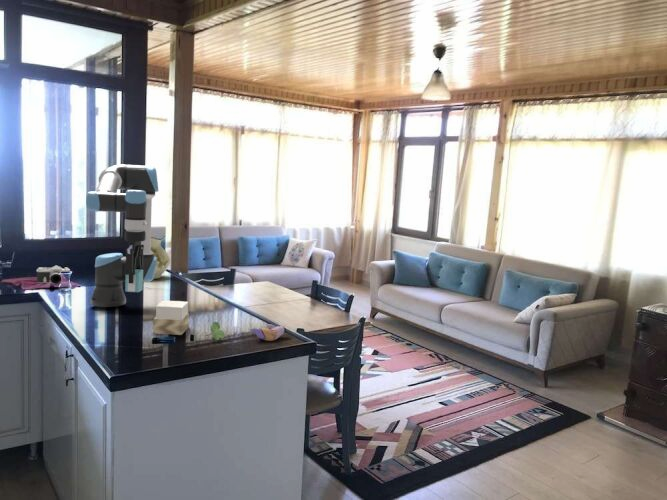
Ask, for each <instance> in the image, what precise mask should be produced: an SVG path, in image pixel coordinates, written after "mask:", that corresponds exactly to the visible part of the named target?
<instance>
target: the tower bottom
mask: <svg viewBox="0 0 667 500" xmlns="http://www.w3.org/2000/svg"><path fill="white" fill-rule="evenodd" d="M152 319H153V320H152V334H158V335H175V336H176V335H177V336H182V335H183V334H184V333H185V332H186V331H187V330H188V329H189V327H190V313H188V314H187V315H186V316H185V318H184V319H183V320H169V319H156V316H155V317H154V318H152Z"/></svg>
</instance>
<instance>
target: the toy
mask: <svg viewBox="0 0 667 500" xmlns="http://www.w3.org/2000/svg"><path fill="white" fill-rule="evenodd" d="M266 326H267V327H260V328H253V327H251V328H250V331H252V332H253V333H255V335H256V336H257V337H258V338H259V339H261V340H263V341H268V342H269V341H270V342H271V341H272V342H273V341H275V340H278V339H279V338H280V337H281V336H283V335H284V334H285V333H286V332H287V329H286V328H285V326H284V325H278V326H276V325H274V324H272V323H271V324H270V323H269V324H266Z"/></svg>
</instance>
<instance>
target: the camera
mask: <svg viewBox="0 0 667 500" xmlns="http://www.w3.org/2000/svg"><path fill="white" fill-rule="evenodd" d="M35 271H36V284H37V283H53V284H52V285H58V284H59V283H60V282H61V276H60V274H59V273H60V272H70V271H71V269H70V268H69V267H64V268H62V267H61V266H59V265H56V264H55V265H54V266H52V267H37V269H36V270H35ZM70 273H71V272H70Z"/></svg>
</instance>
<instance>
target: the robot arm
mask: <svg viewBox="0 0 667 500" xmlns="http://www.w3.org/2000/svg"><path fill="white" fill-rule="evenodd" d="M157 175H158V173H157V169H156V168H155V167H154V166H152V165H140V164H123V163H121V164H114V165H110V166H109V167H107V168H105V169H103V171H101V173H100V174H99V176H98V185H97V187H96V190H95V191H88V192H87V194H86V199H85V200H86V201H85V206H86V209H87V211H91V212H104V213H105V212H109V213H111V212H113V213H114V212H115V213H124V216H125V217H124V230H125V231H124V240H125V241H126V242H128V247H127V248H125V256H124V255H123V253H121V252H111V253H104V254H103V253H102V254H100V255H98V256H96V257H95V260H94V261H95V264H94V268H95V269H94V270H95V271H94V273H95V274H94V275H95V276H94V289H93V292H92V295H91V298H90V306H91V305H92V306H94V307H98V308H113V307H119V306H123V305H125V304H126V303H127V297H126V295H125V292H124V291H125V290H124V288H123V282H126V275H128V291H132V292H131V293H136V292H135V288H136V275H135V269H140V270H143V283H144V282H152V281H153V280H155V279H154V273H155V267H156V261H157V257H154V253H153V252H152V251H151V237H152V232H151V231H152V204H153V203H152V201H153V198H154V197H155V196H156V193H157V192H159V182H158V176H157ZM118 190H123V191H125V193H123V192H118Z"/></svg>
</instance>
